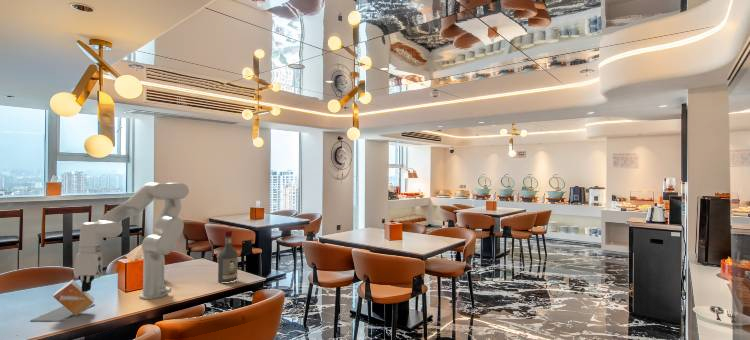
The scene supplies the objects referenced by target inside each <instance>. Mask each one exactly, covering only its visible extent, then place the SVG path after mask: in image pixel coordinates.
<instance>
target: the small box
mask: <svg viewBox="0 0 750 340" xmlns="http://www.w3.org/2000/svg"><path fill="white" fill-rule="evenodd" d="M52 297H53V298H54V299H55V300H56V301H57V302H58V303H60V304H61V305H62V306H65V307H66V308H67V309H68V310H69V311H71V312H72V313H73V314H74V316H76V317H77V316H78V315H79V314H80V313H81V312H84V311H85V310H84V309H86V308H87V307H88V306H90V305H91V304H94V302H95V297H93V295H91V294H90V293H89V291H86V292H82V285H81V284H79V283H78V282H77V281H76V280H74V279H71V280H70V281H69V282H67V283H66V284H64V285H63V286H62V287H60V288H59V289H58V290H57V291H55V292H54V294H53V295H52ZM83 310H84V311H83ZM86 310H87V309H86Z"/></svg>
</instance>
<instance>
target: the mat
mask: <svg viewBox="0 0 750 340" xmlns="http://www.w3.org/2000/svg"><path fill="white" fill-rule="evenodd" d="M95 305H96V304H94V303H92V304H91V305H90V306H88V307H87V308H86V309H84V310H83V311H82V312H84V311H86V310H88V309H90V308H92V307H94V306H95ZM73 315H74V314H73V313H72V312H71V311H69V310H68V309H67V308H66V307H65V306H63V305H62V306H60V307H57V308H55V309H54V310H53V309H52V310H51V311H49V312H47V313H44V314H42V315H40V316H37V317H35V318H33V319H30V322H52V321H60V322H61V321H62V322H63V320H64V321H65V319H66V320H68V319H70V318H72V317H74V316H75V315H74V316H73ZM71 316H72V317H71ZM69 317H70V318H69ZM67 318H68V319H67Z"/></svg>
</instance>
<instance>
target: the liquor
mask: <svg viewBox="0 0 750 340" xmlns="http://www.w3.org/2000/svg"><path fill="white" fill-rule="evenodd" d="M224 231H225V232H224V233H225V234H224V236H225V239H224V240H225V243H224V244H225V245H224V247H223V249H222V250H221V251H220V252H218V263H217V265H218V266H217V267H218V269H217V270H218V272H217V273H218V274H217V281H218V282H219V281H220V282H230V281H234V280H236V279H237V280H238V263H239V262H238V261H239V260H238V257H239V256H238V255H239V254H238V252H237V251H236V249H234V247H233V245H232V243H233V241H232V239H233V237H232V236H233V231H232V230H224ZM220 282H219V283H220Z"/></svg>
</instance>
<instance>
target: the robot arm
mask: <svg viewBox="0 0 750 340" xmlns="http://www.w3.org/2000/svg"><path fill="white" fill-rule="evenodd" d="M189 191H190V189H189V187H188V185H187V184H186V183H184V182H183V183H182V182H166V183H165V182H147V183H145V184H144V185H142V186H141V187H140V188H139V189H138V190H137V191H136V192H134V193H133V194H132V195H131V196H130V197H129V198H127V199H126V200H125V201H124V202H121V203H120V204H119V205H117V206H115V207H113V208H112V209H110V210H109V211H107V212H106V213H105V214H103V216H101V217H100V218H99V219H97V221H87V222H83V223H81V225H80V230H79V244H78V253H77V254H76V256H75V260H74V264H73V274H74V276H73V277H74V278H75V279H79V280H80V283H81V287H82V292H86V291H87V292H89V291H91V289H92V282H93V281H94V280H95V279H99V278H101V274H102V273H103V268H104V267H103V264H104V263H103V256H102V255H103V254H102V252H100V251H102V250H103V248H102V247H101V246H100V245H101V239H102V238H108V239H110V238H112V239H113V238H116V237H118V236H119V235H121V234H122V232H123V225H122V224H120V222H121V221H123V220H125V219H127V218H130V217H133V216H136V215H138V214H140V213H142V211H144V210H145V209H146V208H147V207H148V206H149V205H150V204H151V203H152V202H154V200H164V204H163V205H164V206H163V207H162V210H161V211H160V214H159V215H158V217H157V220H156V221H155V223H154V231H156V232H158V233H161V234H155V233H154V234H149V235H147V236H146V237H144V239H143V240H142V243H141V250H142V255H143V257H142V258H143V265H142V266H143V269H142V270H143V271H142V272H143V274H142V276H143V277H142V292H141V293H139V298H140V299H144V300H151V299H159V298H162V297H165V296H166V295H167V294H168V293H171V292H172V287H167V285H166V284H165V263H166V262H165V256H166V255H168V254H169V255H170V253H172V252H173V250H174V249H175V247H176V246H177V243H178V242H179V240H180V237H181V236H182V233H183V231H184V226H185V224H184V221H183V219H182V218H181V217H179V215H180V214H181V210H182V201H181V200H182V199H185V198H186V197H187V196H188V195H189V193H190V192H189Z"/></svg>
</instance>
